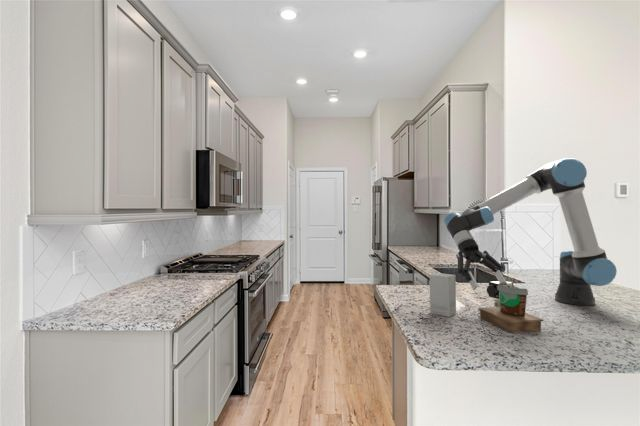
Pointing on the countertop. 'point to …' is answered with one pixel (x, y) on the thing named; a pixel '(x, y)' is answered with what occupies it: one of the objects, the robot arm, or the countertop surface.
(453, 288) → the skincare box
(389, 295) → the countertop surface
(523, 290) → the food container
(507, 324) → the stand
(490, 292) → the pneumatic valve
